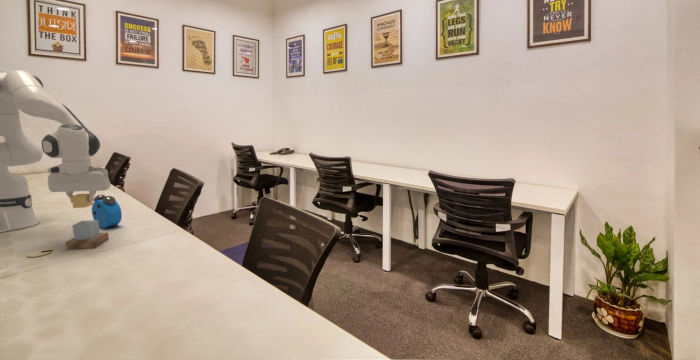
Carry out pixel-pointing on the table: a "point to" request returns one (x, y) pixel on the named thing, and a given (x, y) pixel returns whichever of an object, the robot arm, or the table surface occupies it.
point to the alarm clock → (106, 211)
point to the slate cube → (86, 230)
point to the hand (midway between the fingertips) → (82, 202)
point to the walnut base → (87, 242)
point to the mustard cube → (81, 201)
